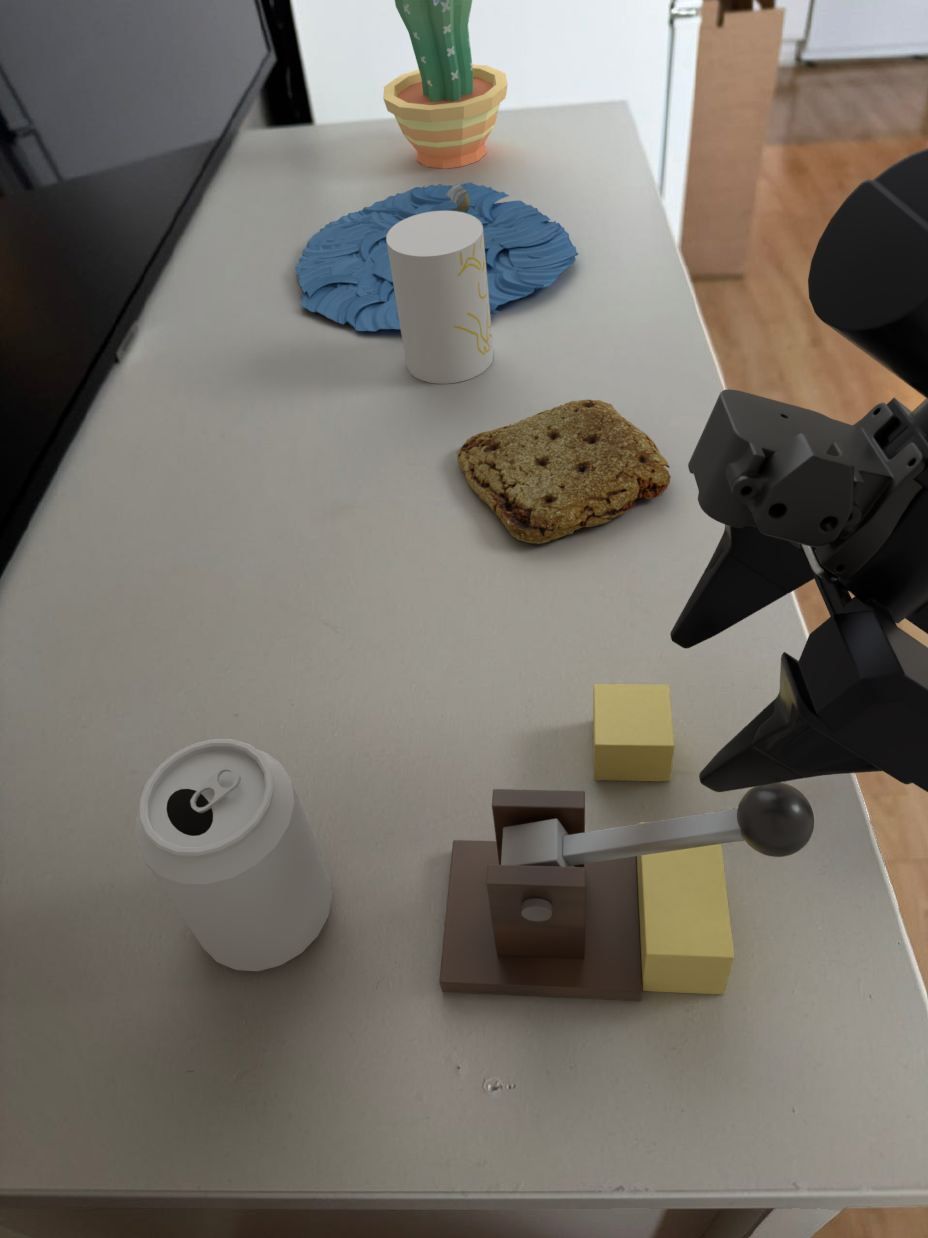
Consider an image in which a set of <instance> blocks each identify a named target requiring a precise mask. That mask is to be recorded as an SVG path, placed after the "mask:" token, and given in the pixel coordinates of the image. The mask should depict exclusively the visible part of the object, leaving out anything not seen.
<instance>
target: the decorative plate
mask: <svg viewBox="0 0 928 1238" xmlns="http://www.w3.org/2000/svg"><path fill="white" fill-rule="evenodd" d="M510 196H511V195H510V194H508V193H506V192H504V191H498V190H495V189H493V188H492V187H491V186H489V187H487V185H483V184H482V185H478V184H475V183H473V182H467V183H462V184H459V183H456V184H454V185H451V184H450V185H447V184H446V185H444V184H437V185H433V184H430V185H427V186H425V185H423V186H415V187H413V188H411V189H409V190H407V191H404V192H400V193H399V192H397V193H396V194H395V195H389V196H388V197H386V198H385V199H382V200H379V201H376V202H374V203H372V204H371V205H370V206H364V207H363V208H362V209H360V210H358V211H354V212H348V213H347V214H346V215H342V216H340V217H339V218H338V219H337V220H334V221H330V222H329V223H327V224H325V226H323V227H322V228H320V230H319V231H318V232H316V233H314V234H313V235H312V236H311V237H310V238H309V240H308V241H307V243H306V246H305V247H304V248H303V249H302V253H301V256H300V257H299V259H298V262H297V264H296V265H295V266H294V268H295V270H294V271H295V274H296V275H297V276H298V279H299V280H298V283H299V285H300V287H301V290H302V293H301V302H300V307H302V308H304V309H306V310H308V311H310V312H311V313H319V314H320V315H323V316H324V317H326V318H327V319H330V320H331V321H334V322H335V323H337V324H338V323H339V324H340V325H345V324H346V323H347V324H348V325H349V327H352V328H354V331H356V332H367V331H368V332H378V330H381V329H382V330H391V329H394V330H401V328H400V322H399V316H398V309H397V303H396V297H395V291H394V285H393V279H392V272H391V266H390V260H389V254H388V248H387V242H386V236H387V233H388V232H389V230H390V229H391V228H392V227H393V226H394V225H395V224H397V223H398V222H400V221H402V220H404V219H406V218H408V217H411V216H414V215H417V214H421V213H426V212H432V211H458V212H463V213H467V214H470V215H472V216H474V217H476V218H477V219H478V220H479V221H480V222H481V223H482V226H483V235H484V247H485V259H486V270H487V282H488V294H489V306H490V313H493V314H499V313H500V311H499V310H497V308H498V307H499V306H500V305H504V304H507V303H508V302H510V301H511V302H512V301H515V300H519V299H520V298H521V299H522V298H527V296H529V295H532V294H534V292H535V291H537V290H539V289H543V288H549V287H550V286H551V285H553V284H554V283H555V281H557V280H559V278H560V274H562V273H564V271H565V270H567V268H569V267H571V266H572V265H574V263H575V261H576V259H577V258H576V256H578V255H579V252H577V247H576V246H575V245H574V244H573V242H572V240H571V239H570V234H569V232H568V231H566V230H565V227H564V226H562V225H561V223H560V222H557V221H556V220H554V221H551V218H550V217H549V216H547V215H546V214H543V213H542V212H540V210H538V207H534V206H533V205H532V204H526V203H525V202H523V200H509V201H502V202H498V201H499V200H501V199H504V198H508V197H510Z"/></svg>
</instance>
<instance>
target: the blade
mask: <svg viewBox="0 0 928 1238" xmlns="http://www.w3.org/2000/svg"><path fill="white" fill-rule="evenodd" d="M646 822H647V821H646ZM814 829H815V814H814V810H813V807H812V805H811V803H810V801H809V800H808V798H807V797H806V796H805V795H804V793H802V792H801V791H800V790H799V789H797V788H796V787H794V786H792V785H791V784H789V783H785V782H778V783H773V784H767V785H761V786H755V787H750V788H749V789H748V790H747V791H746V792H745V793H744V795H742V798H741V799H740V801H739V803H738V806H737V807H735V808H729V809H721V810H717V811H711V812H703V813H697V814H692V815H691V814H690V815H686V816H685V815H684V816H679V817H671V818H667V819H660V820H654V821H648V822H647V823H641V824H639V823H633V824H629V825H622V826H615V827H610V828H609V827H608V828H605V829H597V830H591V831H585V832H584V833H578V834H572V835H569V834H568V833H567V832H566V830H565V829H564V827H563V826H562V825H561V823H560V822H559V820H558V819H550V820H544V821H538V822H532V823H526V824H520V825H514V826H508V827H504V828H503V839H502V856H501V865H522V866H555V867H574V865H580V864H587V863H594V862H600V861H607V860H614V859H621V858H628V857H634V856H641V855H648V854H655V853H662V852H668V851H675V850H682V849H689V848H696V847H703V846H709V845H716V844H721V845H723V844H729V843H730V844H731V843H735V842H743V841H744V842H745V843H746V844H747V845H748V846H749V847H750V848H751V849H753V850H754V851H756V852H758V853H759V854H762V855H764V856H768V857H773V858H783V857H789V856H792V855H794V854H796V853H798V852H799V851H801V850H802V849H803V848H805V846H806V845H807V844H808V842H810V840H811V838H812V835H813V833H814Z"/></svg>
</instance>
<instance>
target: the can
mask: <svg viewBox="0 0 928 1238" xmlns="http://www.w3.org/2000/svg"><path fill="white" fill-rule="evenodd" d="M135 843H136V845H137V848H138V850H139V853H140V855H141V858H142V860H143V862H144V863H145V865H146V866H147V868H148V869H149V871H150V872H151V874H152V875H153V877H154V878H155V880H156V881H157V882H158V884H159V886H160V887H161V888H162V890H163V891H164V893H165V894H166V896H167V897H168V899H169V900H170V902H171V903H172V904H173V906H174V907H175V909H176V910H177V912H178V913H179V915H180V917H181V918H182V919H183V921H184V923H185V924H186V926H187V927H188V928H189V930H190V931H191V933H192V934H193V936H194V937H195V939H196V940H197V942H198V943H199V944H200V946H201V948H203V950H204V951H205V952H206V953H207V954H208V955H209V956H210V957H211V958H212V959H213V960H215V962H216V963H217V964H221V965H223V966H225V967H228V968H229V969H230V968H231V969H233V970H235V971H246V972H247V971H248V972H260V971H264V970H267V969H268V970H269V969H273V968H276V967H281V966H282V965H285V964H286V963H287V962H288V961H291V960H293V959H294V958H295V957H297V956H299V955H301V954H302V953H303V952H304V951H305V950H306V949H307V948H308V947H309V946H310V945H311V944H312V942H314V941H315V940H316V939H317V938H318V937H319V935H320V933H321V931H322V929H323V927H324V926H325V924H326V922H327V920H328V919H329V915H330V910H331V905H332V899H333V892H332V885H331V878H330V874H329V872H328V869H327V867H326V865H325V864H326V863H325V861H324V859H323V857H322V854H321V851H320V849H319V847H318V844H317V842H316V839H315V837H314V834H313V832H312V829H311V827H310V824H309V821H308V819H307V816H306V813H305V812H304V809H303V806H302V804H301V801H300V798H299V796H298V794H297V791H296V789H295V786H294V784H293V781H292V779H291V777H290V776H289V774H288V773H287V770H286V769H285V767H284V766H283V764H281V762H279V761H278V760H277V759H275V758H274V757H273V756H271V754H269V753H268V752H266V751H263V750H260V749H257V748H256V747H254V746H253V745H252V744H249V743H246V742H243V741H240V740H237V739H234V738H211V739H207V740H204V741H199V742H195V743H192V744H190V745H187V746H186V747H183V748H182V749H180V750H178V751H176V752H174V753H173V754H172V755H170V756H169V757H168V758H167V759H165V760H164V761H163V762H161V764H158V766H157V767H156V769H154V771H153V772H152V774H151V775H150V777H149V778H148V780H147V781H146V782H145V784H144V786H143V789H142V793H141V795H140V798H139V800H138V812H137V815H136V819H135Z"/></svg>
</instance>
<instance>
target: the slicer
mask: <svg viewBox="0 0 928 1238" xmlns="http://www.w3.org/2000/svg"><path fill="white" fill-rule="evenodd" d="M491 798H492V799H491V811H492V818H493V819H492V820H493V827H494V835H495V840H470V839H469V840H467V839H466V840H465V839H453V841H452V848H451V856H450V857H451V858H450V868H449V878H448V889H447V898H446V909H445V918H444V928H443V929H444V931H443V940H442V941H443V942H442V949H441V960H440V971H439V980H438V982H439V986H440V990H441V992H442V993H463V994H484V995H502V996H503V995H505V996H523V997H524V996H529V997H549V998H568V999H569V998H570V999H592V1000H610V1001H611V1000H612V1001H613V1000H614V1001H634V1002H640V1001H641V1002H642V1001H643V995H644V991H643V981H642V960H641V939H640V917H639V896H638V875H637V856H634V857H628V858H621V859H614V860H607V861H600V862H594V863H587V864H580V865H574V867H555V866H522V865H501V856H502V839H503V828H504V827H508V826H514V825H520V824H526V823H532V822H538V821H544V820H550V819H558V820H559V822H560V823H561V825H562V826H563V827H564V829H565V830H566V832H567V833H568V834H569V835H572V834H578V833H584V832H586V791H584V790H559V789H557V790H555V789H551V790H550V789H516V788H515V789H513V788H508V789H507V788H493V789H492V797H491Z"/></svg>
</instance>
